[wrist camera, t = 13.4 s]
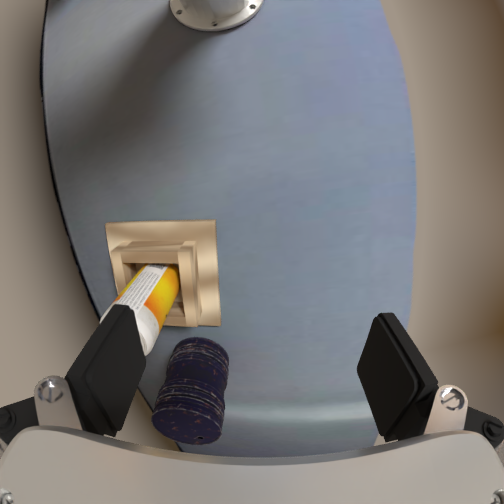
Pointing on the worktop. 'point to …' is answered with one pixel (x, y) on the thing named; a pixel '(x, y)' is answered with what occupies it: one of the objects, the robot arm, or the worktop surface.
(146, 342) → the beer can
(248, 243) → the worktop surface
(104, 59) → the worktop surface
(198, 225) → the can holder
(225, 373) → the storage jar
